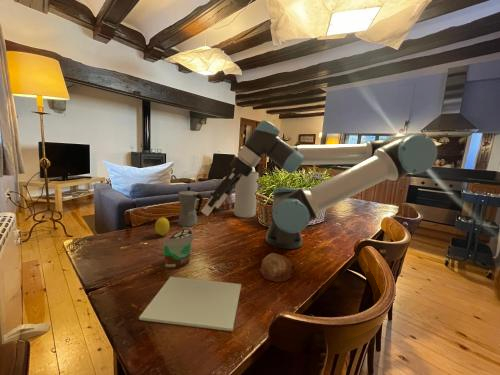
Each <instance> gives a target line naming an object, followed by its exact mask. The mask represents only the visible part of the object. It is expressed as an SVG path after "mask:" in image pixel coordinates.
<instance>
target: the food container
mask: <svg viewBox="0 0 500 375" xmlns="http://www.w3.org/2000/svg"><path fill="white" fill-rule="evenodd" d="M194 239H195V236H194V232H193V230H192V228H190V227H188V226H182V229H181V230H180V231H178V232H176V233H174V234H173V235H171V236H170V237H169V238H163V242H162V246H163V247H164V267H165V269H166V270H177V269H181V268H184V267H186V266H188V265H189V264H190V259H191V250H192V249H191V248H192V242H193V241H194Z"/></svg>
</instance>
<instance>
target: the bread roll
mask: <svg viewBox="0 0 500 375" xmlns="http://www.w3.org/2000/svg"><path fill="white" fill-rule="evenodd" d="M294 268H295V266H294V265H293V263H292V261H291V260H290V259H289V258H288V257H286V256H284V255H283V254H282V255H281V254H278V253H275V252H271V253H269V254H267V255H266V256H265V257H264V258H263V259H262V260H261V266H260V268H259V272H260V273H261V275H262V276H263V278H265V279H266V280H268V281H271V282H276V283H277V282H285V281H288V280H289V279H291V277H292V276H293V274H294Z"/></svg>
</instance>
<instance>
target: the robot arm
mask: <svg viewBox="0 0 500 375" xmlns="http://www.w3.org/2000/svg"><path fill="white" fill-rule="evenodd" d="M279 135H280V129H279V128H278V127H276V125H274V124H273V123H271V122H270V121H268V120H267V119H264V120H261V121H260V122H259V124H258V125H257V126H256V127H255V128H254V130H253V131H252V133H251V134H250V136H249V137H248V139H247V140H246V141H245V143H244V144H243V146H240V147H239V151H238V152H237V156H235V157H234V158H233V159H232V161H231V162H230V163H229V165H230V167H231V168H233V169H234V170H232V171H229V172H228V174H227V175H226V177H225V178H223V180H222V182H221V183H220V184H219V185H218V186H217V188H215V190H214V191H213V192H211V193H210V196H211V197H210V198H209V199H208V200H207V202H206V204H205V205H204V206H203V208H202V209H201V210H200V212H202V214H203V215H205V216H206V217H209V215H210V214H211V212H212V211H213V209H214V208H216V209H219V208H220V207H221V205H222V204H223V203H224V201H225V200H226V198H227V197H228V196H229V197H230V196H231V194H232V191H233V189H234V188H235V187H236V184H237V182H238V181H239V180H240V177H241V176H242V175H244V176H246V177H247V176H248V175H249V174H250V173H251V171H253V168H255V167H256V166H257V165H258V163H260V161H261V160H262V158H263V156H266V157H267V158H268V159H270V160H271V161H273V162H274V163H275V164H276V165H278V166H279V167H280V168H281V169H283V170H284V171H285V172H287V173H288V174H294V173H295V172H296V171H297V170H299V169H298V168H300V166H303V165H304V166H306V165H307V166H308V165H309V166H310V165H311V166H312V165H315V166H316V165H353V166H352V167H349V168H347V169H346V170H344V171H342V172H340V173H338V174H336V175H334V176H331V177H330V178H328V179H325V180H324V181H322V182H320V183H319V184H316V185H314V186H313V187H312V186H311V188H309V189H306V188H303V187H301V188H299V189H298V188H291V187H290V188H289V187H281V186H280V187H275V188H274V190H273V193H272V194H273V199H272V200H273V201H272V211H271V222H270V225H269V227H268V230H267V232H266V234H265V242H266V243H267V244H268V245H269V246H272V247H275V248H278V249H285V250H294V249H297V248H298V249H299V248H301V246H302V245H303V236H302V233H301V232H302V231H303V230H305V229H306V228H307V226H308V224H309V223H310V222H313V221H314V220H316V219H318V218H319V216H320V213H321V212H322V211H324V210H327V209H328V208H330V207H333V206H334V205H336V204H339V203H340V202H343V201H345V200H347V199H350V198H351V197H354V196H355V195H357V194H359V193H361V192H363V191H365V190H367V189H369V188H371V187H374V186H376V185H377V184H380V183H382V182H384V181H385V180H390V181H397V180H399V179H401V178H403V177H405V176H408V175H409V174H413V175H414V174H415V175H416V174H421V173H425V172H427V171H429V170H431V168H432V167H433V166H434V164H435V162H436V161H437V160H436V159H437V157H438V148H437V147H438V146H437V145H436V142H435V141H434V140H433V139H432V138H431V137H430V136H428V135H425V134H419V133H418V134H417V133H411V134H408V135H400V136H392V137H388V138H383V139H377V140H366V141H364V142H363V143H353V144H352V143H350V144H349V143H346V144H314V145H311V144H309V145H308V144H307V145H289V144H288V143H287V142H286V141H284V140H282V138H280V136H279Z"/></svg>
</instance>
